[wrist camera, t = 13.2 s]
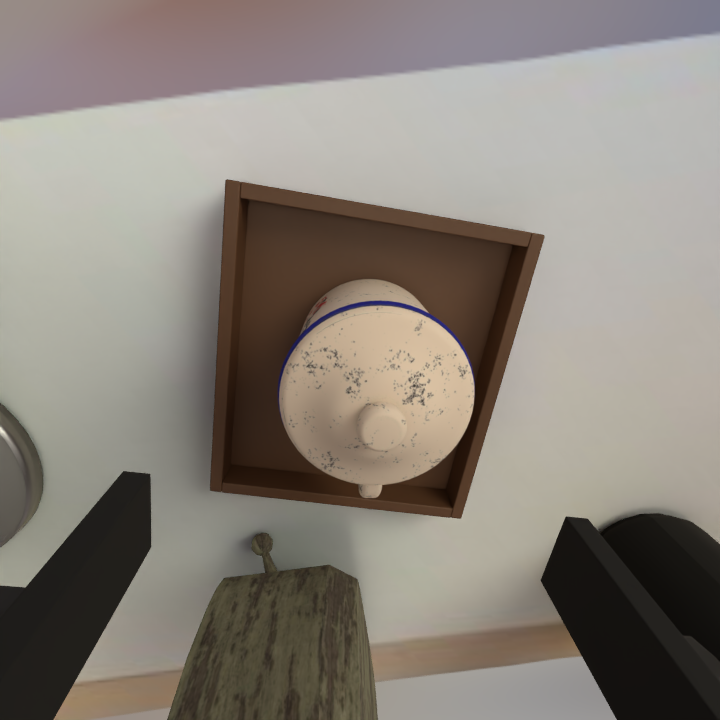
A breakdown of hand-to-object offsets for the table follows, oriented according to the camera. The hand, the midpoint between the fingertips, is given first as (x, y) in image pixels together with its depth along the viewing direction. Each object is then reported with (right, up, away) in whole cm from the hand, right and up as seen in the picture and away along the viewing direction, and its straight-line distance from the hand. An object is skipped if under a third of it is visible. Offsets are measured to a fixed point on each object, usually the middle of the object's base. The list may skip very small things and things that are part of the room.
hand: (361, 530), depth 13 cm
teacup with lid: (0, +5, +15) cm, 15 cm away
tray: (0, +5, +15) cm, 16 cm away
